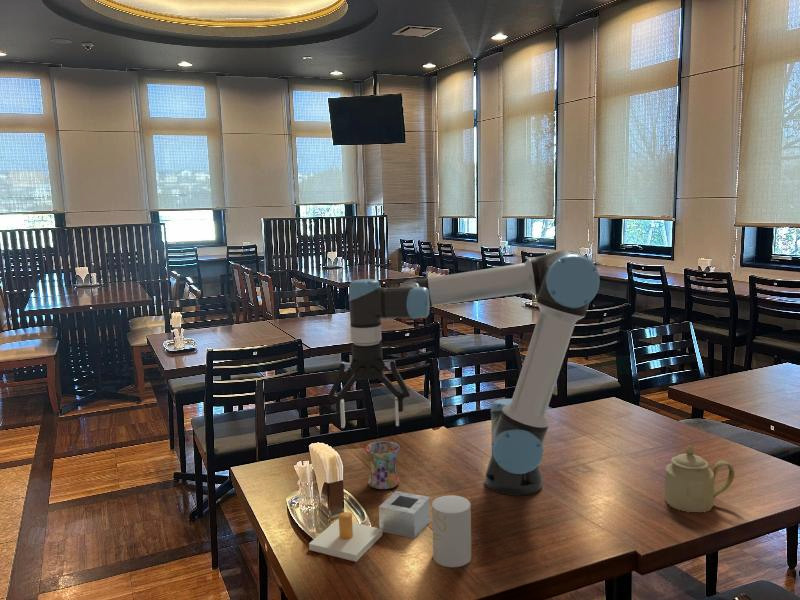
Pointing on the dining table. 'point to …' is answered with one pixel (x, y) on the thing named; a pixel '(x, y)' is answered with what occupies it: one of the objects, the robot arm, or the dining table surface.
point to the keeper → (346, 538)
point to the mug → (383, 464)
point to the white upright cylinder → (451, 530)
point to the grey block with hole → (404, 514)
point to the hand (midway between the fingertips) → (370, 425)
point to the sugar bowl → (693, 482)
